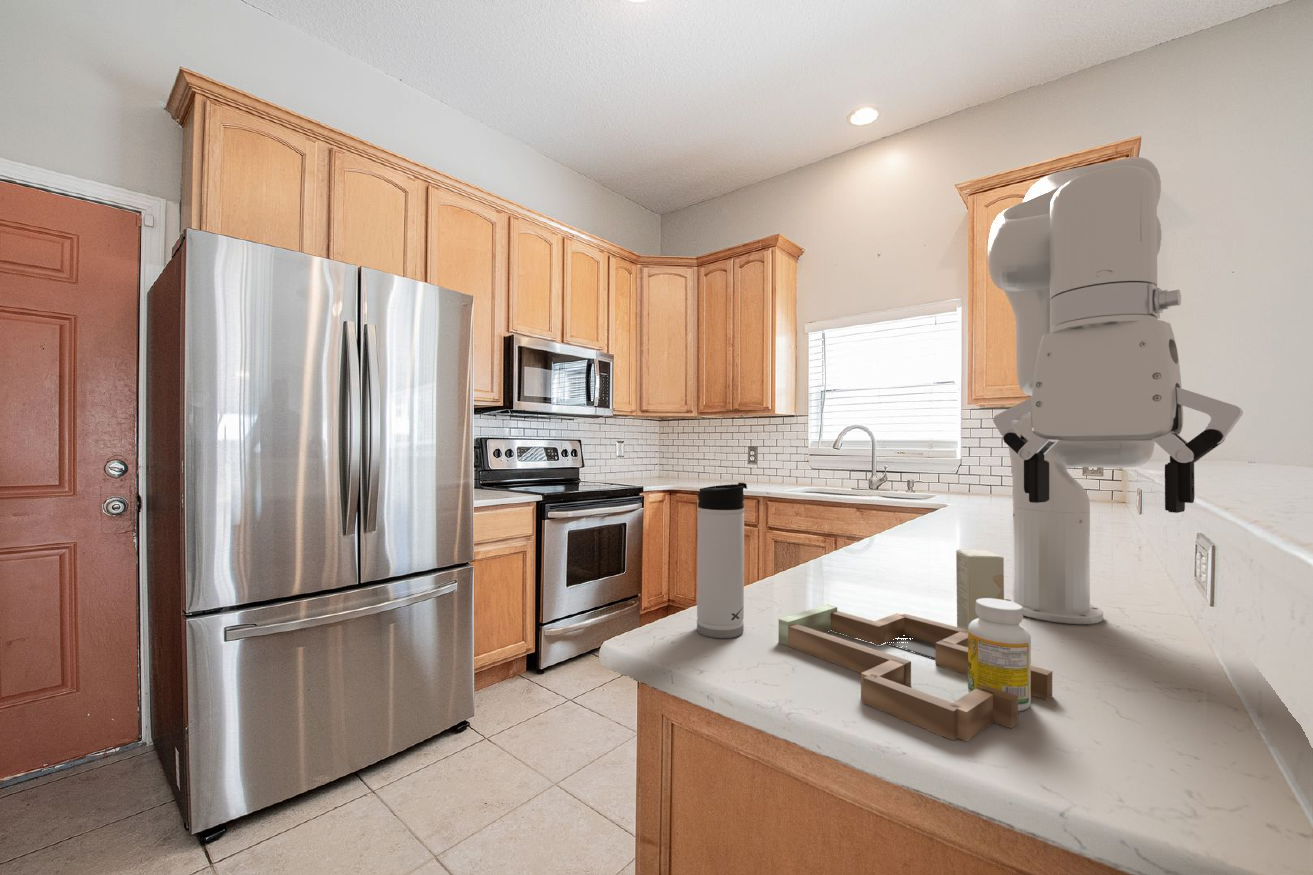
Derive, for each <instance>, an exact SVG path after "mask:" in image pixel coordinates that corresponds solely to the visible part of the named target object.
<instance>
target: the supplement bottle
mask: <svg viewBox="0 0 1313 875" xmlns="http://www.w3.org/2000/svg"><path fill="white" fill-rule="evenodd" d="M975 612H976V614H977V616H978V617H979V618H977V619H975V620H973V621H971V622H970V624H969V626H968V675H967V690H968V693H970V692H971V691H973V690H974V689H976V688H978V687H979V686H981V685H982V684H983V685H986V686H989V687H992V688H995V689H998V690H1001V691H1004V692H1008V693H1011V694H1014V695H1017V696H1018V712H1022V711H1026V710H1027V709H1029V707H1030V705H1031V699H1032V695H1031V665H1032V664H1031V663H1032V662H1031V661H1032V660H1031V657H1032V656H1031V655H1032V654H1031V653H1032V637H1031V633H1030V631H1029V630H1028V629H1027V628H1025V627H1024V626H1022V625H1021V623H1022V622H1023V620H1024V616H1023V608H1022V606H1021V605H1019V604H1017V603H1014V602H1010V601H1006V600H1001V599H993V598H981V599H977V600H976V608H975Z"/></svg>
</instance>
